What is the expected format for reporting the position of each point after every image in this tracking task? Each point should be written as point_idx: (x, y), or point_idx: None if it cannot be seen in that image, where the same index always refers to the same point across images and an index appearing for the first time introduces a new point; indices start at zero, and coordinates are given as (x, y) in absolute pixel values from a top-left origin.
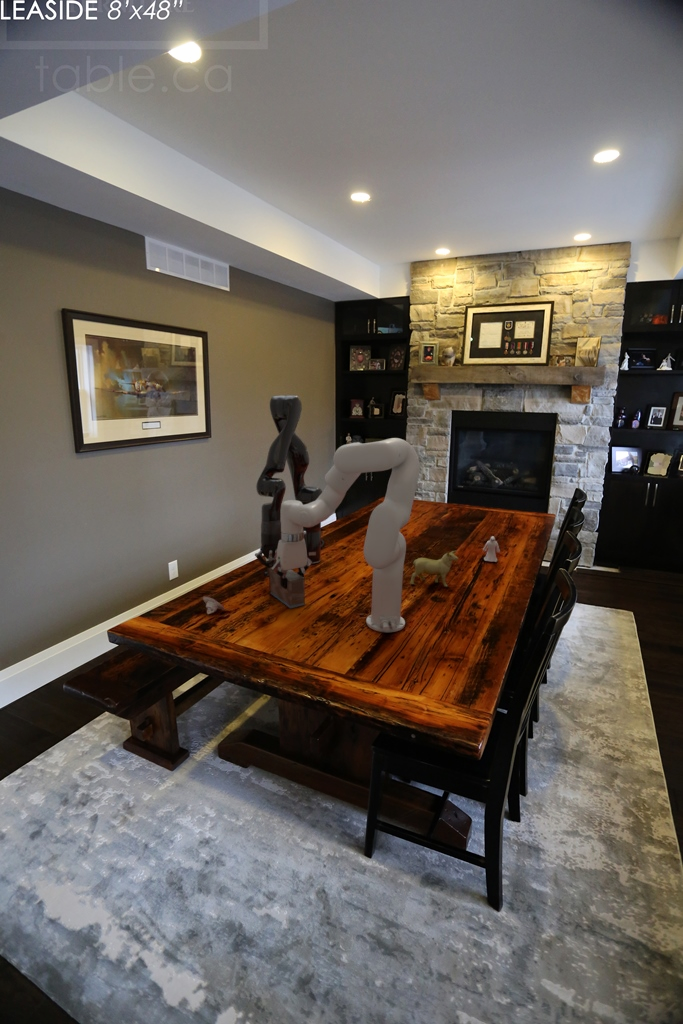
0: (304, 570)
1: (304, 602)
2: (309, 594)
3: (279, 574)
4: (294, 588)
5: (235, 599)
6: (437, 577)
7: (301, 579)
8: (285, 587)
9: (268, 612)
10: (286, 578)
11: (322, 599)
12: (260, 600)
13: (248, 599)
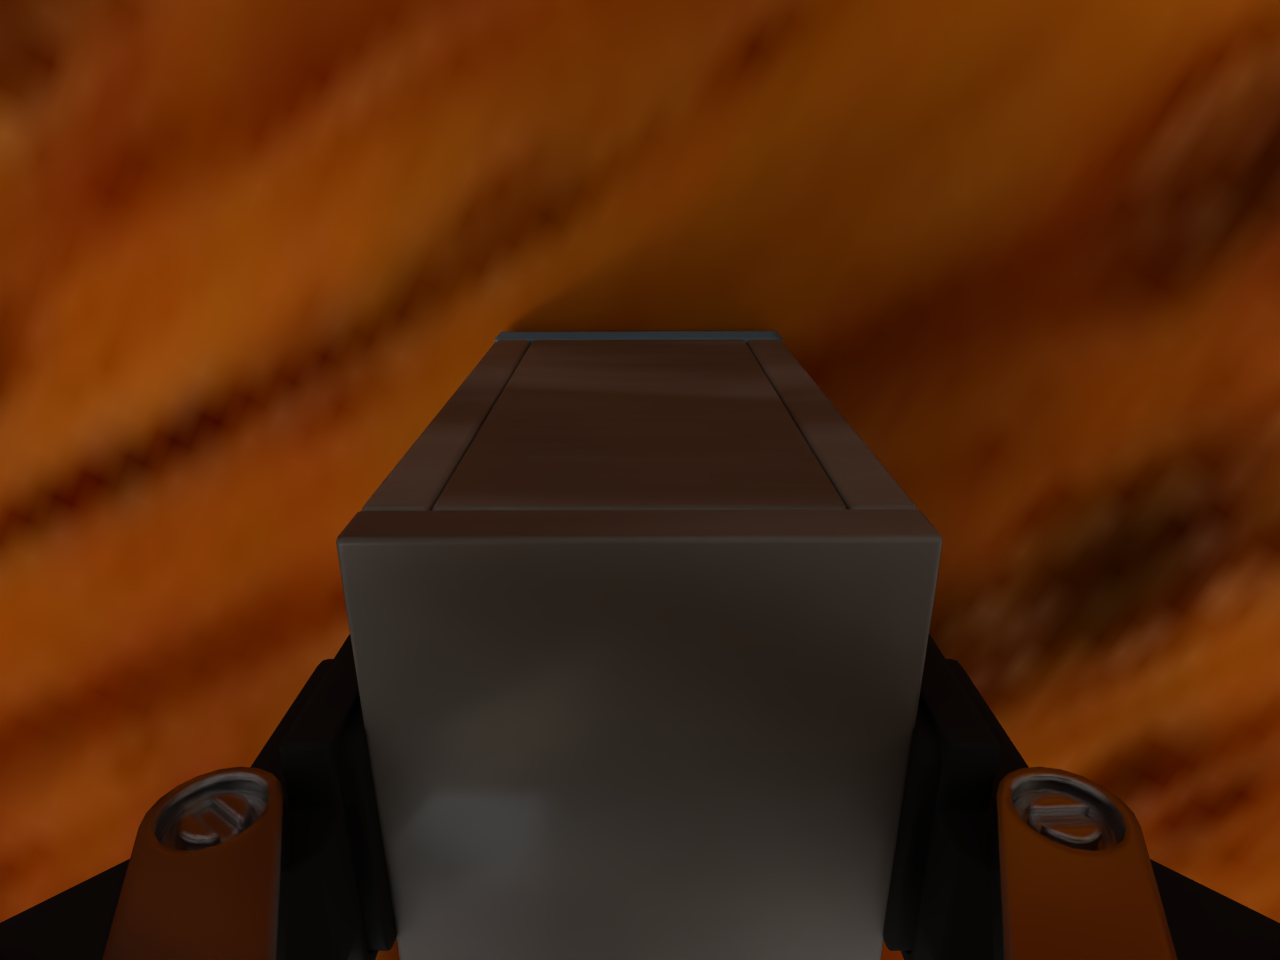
0: (148, 876)
1: (501, 340)
2: (270, 632)
3: (1273, 944)
4: (727, 435)
5: None
6: None
7: (471, 525)
8: None
9: (1117, 394)
10: (953, 736)
11: (141, 379)
12: None
13: None
